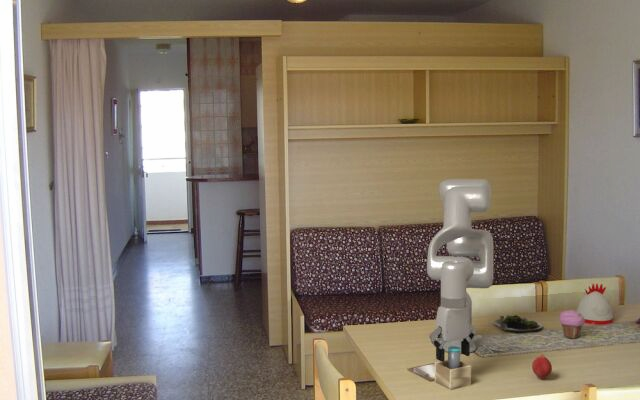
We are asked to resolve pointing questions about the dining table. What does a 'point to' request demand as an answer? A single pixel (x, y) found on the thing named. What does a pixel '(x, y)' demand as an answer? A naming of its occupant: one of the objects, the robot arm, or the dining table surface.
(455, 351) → the cylinder
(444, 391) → the dining table surface
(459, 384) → the wooden box
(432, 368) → the clipboard
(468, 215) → the robot arm
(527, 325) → the salad plate
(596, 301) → the white and red dome
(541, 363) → the onion
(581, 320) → the cupcake
